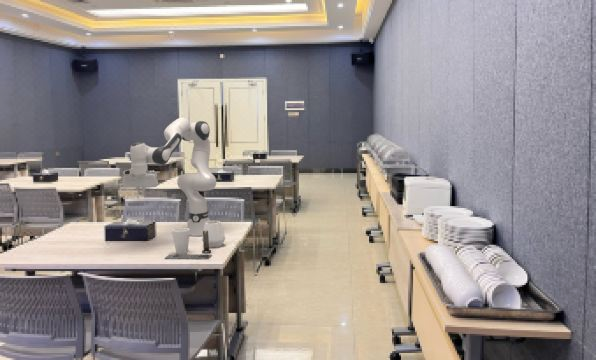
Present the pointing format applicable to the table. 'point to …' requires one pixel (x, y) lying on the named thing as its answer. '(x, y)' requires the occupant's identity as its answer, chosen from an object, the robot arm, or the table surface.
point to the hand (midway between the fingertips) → (141, 194)
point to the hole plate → (187, 256)
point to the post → (206, 243)
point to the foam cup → (181, 240)
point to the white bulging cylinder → (214, 233)
